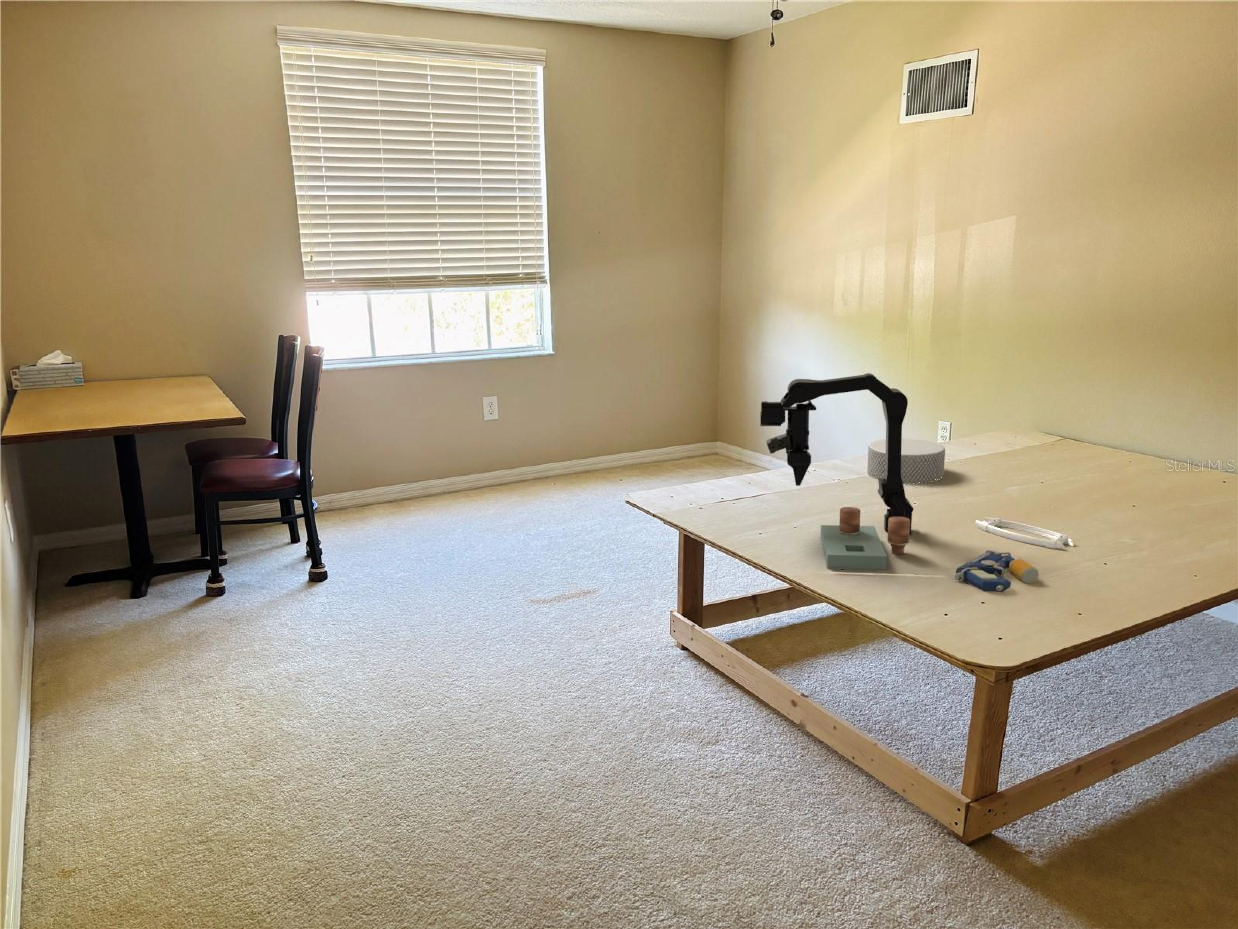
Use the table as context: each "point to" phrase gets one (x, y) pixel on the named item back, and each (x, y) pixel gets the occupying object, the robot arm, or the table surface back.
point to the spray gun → (995, 571)
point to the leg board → (853, 549)
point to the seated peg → (849, 520)
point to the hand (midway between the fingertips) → (797, 481)
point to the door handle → (1054, 541)
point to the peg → (898, 534)
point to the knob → (909, 460)
